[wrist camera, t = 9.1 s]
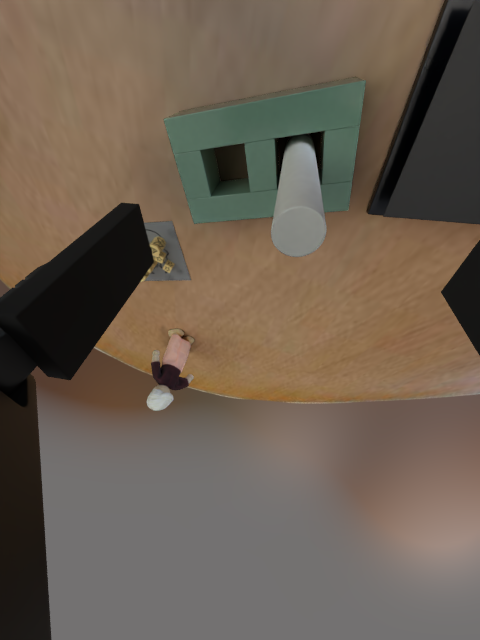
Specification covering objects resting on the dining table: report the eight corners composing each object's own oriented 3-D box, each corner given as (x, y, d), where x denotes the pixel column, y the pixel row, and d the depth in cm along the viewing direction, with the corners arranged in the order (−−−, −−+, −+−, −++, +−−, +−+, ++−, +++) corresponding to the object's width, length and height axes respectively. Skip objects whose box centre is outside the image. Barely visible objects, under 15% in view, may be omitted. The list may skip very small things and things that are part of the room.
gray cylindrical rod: (284, 134, 21) (268, 208, 11) (314, 129, 21) (329, 203, 10) (285, 166, 23) (272, 258, 12) (313, 163, 22) (324, 256, 12)
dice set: (143, 273, 34) (136, 282, 33) (126, 237, 31) (118, 246, 29) (178, 272, 33) (172, 281, 32) (164, 235, 30) (158, 244, 28)
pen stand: (181, 110, 21) (163, 119, 18) (356, 76, 18) (366, 80, 15) (204, 206, 26) (193, 224, 24) (342, 192, 23) (348, 210, 21)
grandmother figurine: (159, 332, 43) (123, 402, 34) (168, 321, 41) (133, 393, 32) (198, 353, 46) (174, 423, 37) (209, 344, 43) (186, 417, 35)
